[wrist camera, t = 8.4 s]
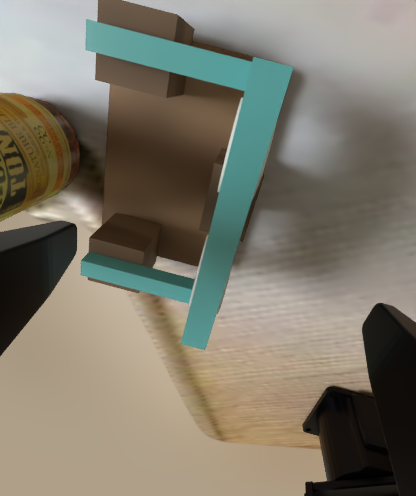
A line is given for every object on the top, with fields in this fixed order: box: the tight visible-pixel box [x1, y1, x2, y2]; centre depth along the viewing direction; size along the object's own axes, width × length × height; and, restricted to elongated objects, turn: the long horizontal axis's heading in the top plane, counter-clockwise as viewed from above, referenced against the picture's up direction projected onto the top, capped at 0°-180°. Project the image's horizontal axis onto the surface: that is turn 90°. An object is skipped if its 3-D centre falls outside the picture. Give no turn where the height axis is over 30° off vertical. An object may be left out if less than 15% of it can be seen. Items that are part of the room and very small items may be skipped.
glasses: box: [81, 19, 294, 350], centre depth 14 cm, size 12×8×4 cm, turn 167°
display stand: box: [88, 0, 264, 293], centre depth 18 cm, size 14×9×5 cm, turn 167°
